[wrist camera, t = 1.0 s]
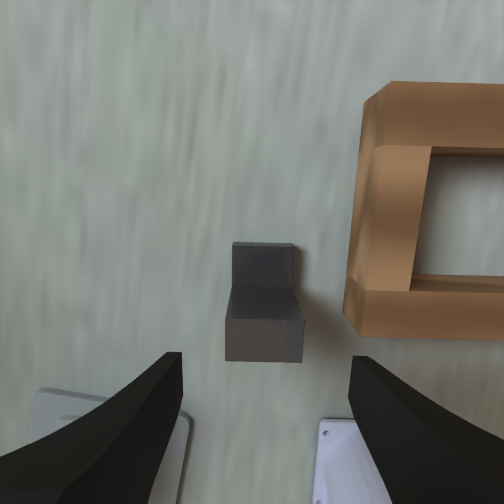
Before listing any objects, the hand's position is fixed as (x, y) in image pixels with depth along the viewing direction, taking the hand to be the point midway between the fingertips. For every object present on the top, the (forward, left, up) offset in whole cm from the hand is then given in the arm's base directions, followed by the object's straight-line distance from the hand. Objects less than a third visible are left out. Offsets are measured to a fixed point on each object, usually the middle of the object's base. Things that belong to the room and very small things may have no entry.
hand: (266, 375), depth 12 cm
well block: (+6, -14, -9) cm, 18 cm away
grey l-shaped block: (+1, 0, -9) cm, 9 cm away
